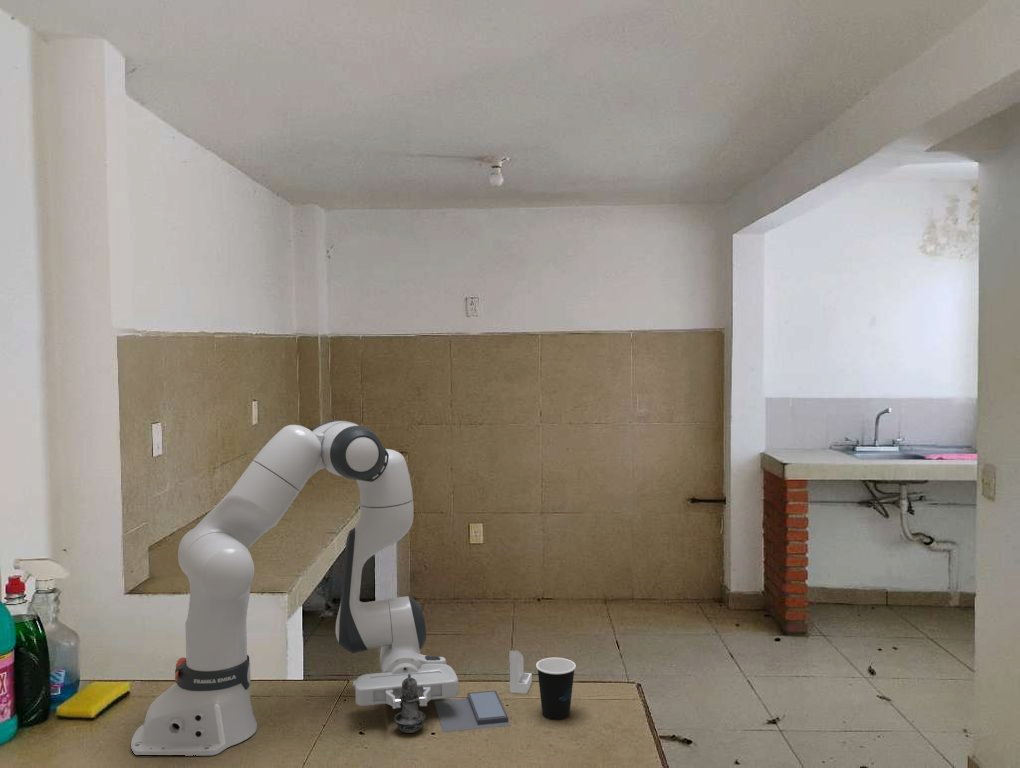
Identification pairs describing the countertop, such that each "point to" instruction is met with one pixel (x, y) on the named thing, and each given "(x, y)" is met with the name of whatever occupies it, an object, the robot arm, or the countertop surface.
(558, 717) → the dixie cup
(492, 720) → the phone
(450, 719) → the mat
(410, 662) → the robot arm
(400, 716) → the stone finial ornament
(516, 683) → the white angled block
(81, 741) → the countertop surface
